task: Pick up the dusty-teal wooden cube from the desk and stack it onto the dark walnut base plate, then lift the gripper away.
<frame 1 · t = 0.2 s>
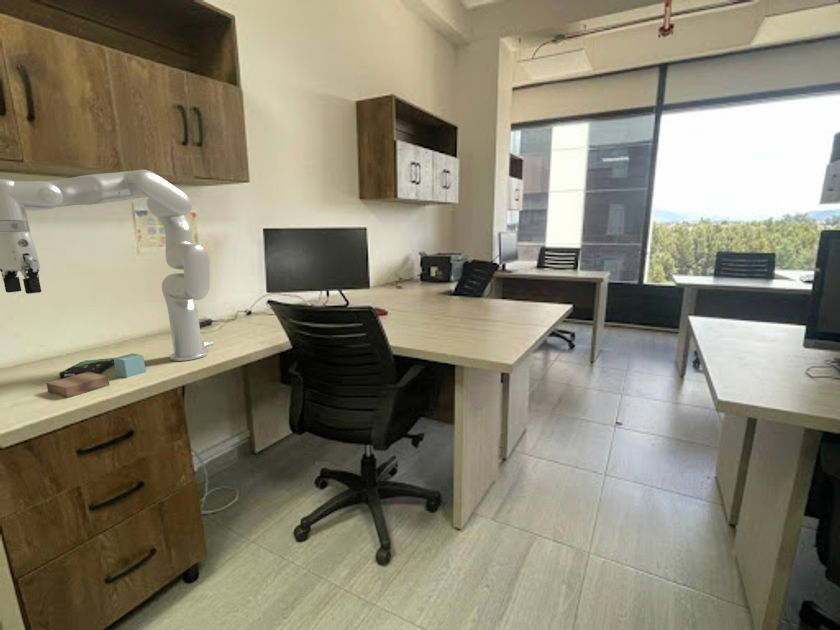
hand: (23, 292, 113), 31 cm above the table, tool pointing down, fingers open, 9 cm apart
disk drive: (90, 372, 143), on the table
walnut base: (79, 388, 126), on the table
teal cube: (131, 373, 139), on the table
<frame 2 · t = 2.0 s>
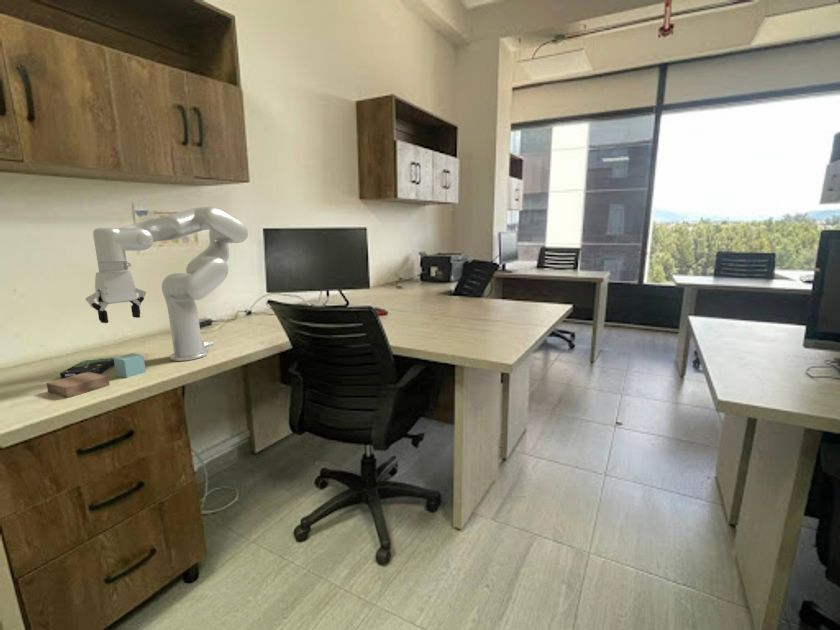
hand: (121, 319, 135), 19 cm above the table, tool pointing down, fingers open, 9 cm apart
nothing on the table moved.
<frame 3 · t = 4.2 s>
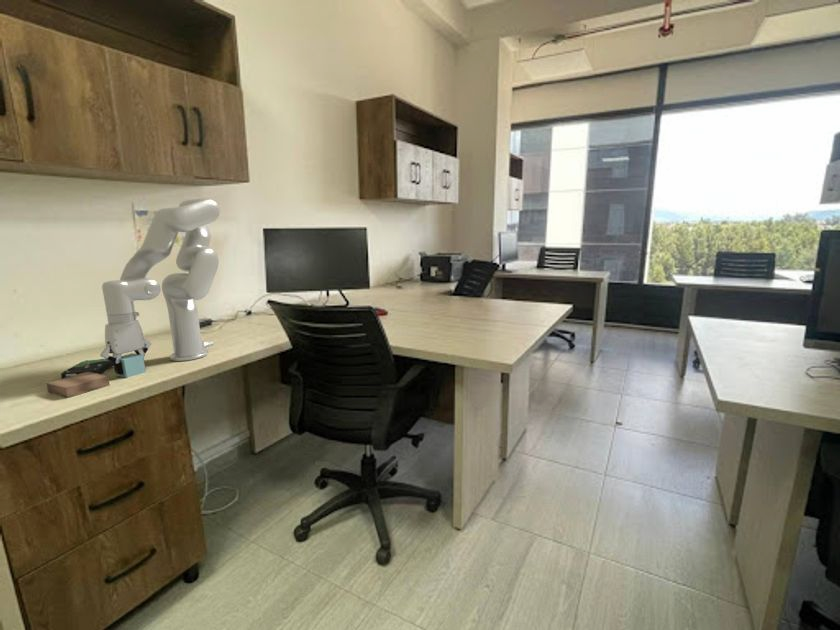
hand: (130, 370, 139), 1 cm above the table, tool pointing down, fingers closed on teal cube, 6 cm apart
teal cube: (131, 373, 139), on the table, touching gripper
everything else where it was.
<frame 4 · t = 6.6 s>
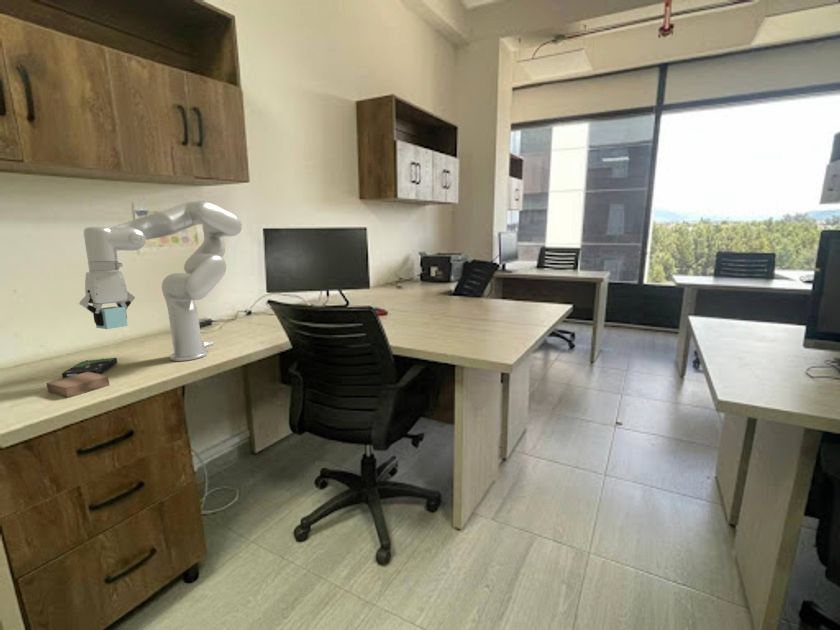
hand: (111, 323, 133), 18 cm above the table, tool pointing down, fingers closed on teal cube, 6 cm apart
teal cube: (112, 326, 133), point 17 cm above the table, touching gripper
everything else where it was.
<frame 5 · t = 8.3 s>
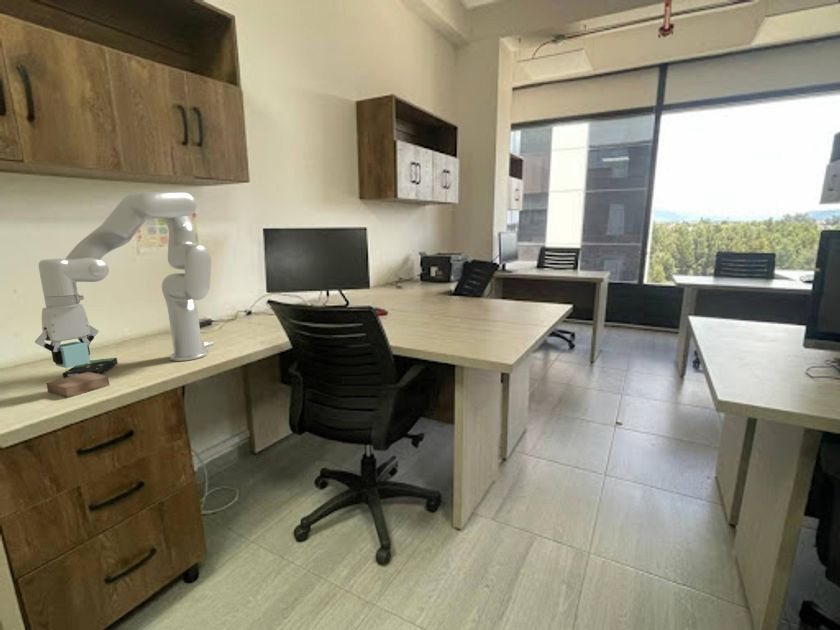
hand: (72, 360, 124), 9 cm above the table, tool pointing down, fingers closed on teal cube, 6 cm apart
teal cube: (73, 364, 124), point 8 cm above the table, touching gripper
everything else where it was.
when the fingers open (5 cm above the table, at t = 9.5 s): teal cube stays where it is, resting on walnut base.
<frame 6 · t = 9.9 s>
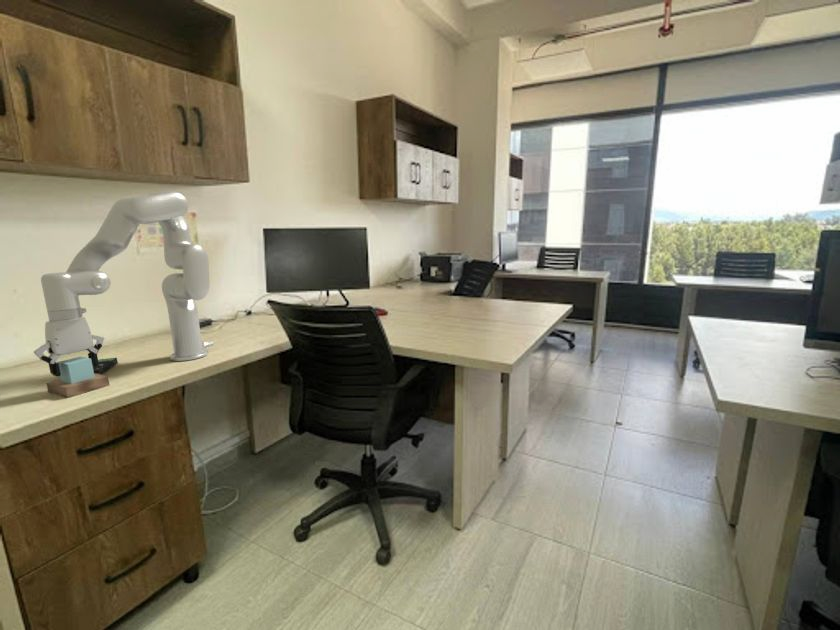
hand: (76, 370, 125), 6 cm above the table, tool pointing down, fingers open, 9 cm apart
teal cube: (78, 379, 126), point 3 cm above the table, touching walnut base
everything else where it was.
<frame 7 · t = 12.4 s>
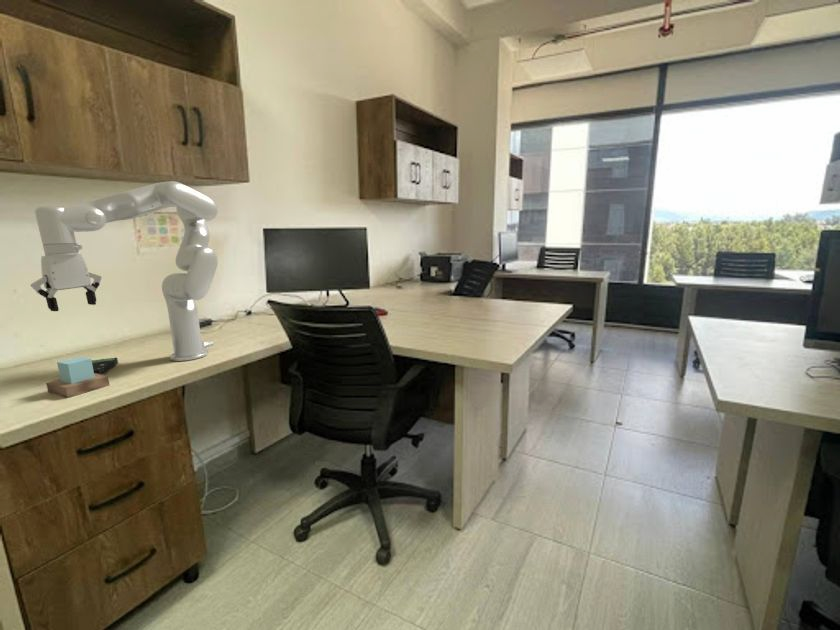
hand: (74, 307, 125), 25 cm above the table, tool pointing down, fingers open, 9 cm apart
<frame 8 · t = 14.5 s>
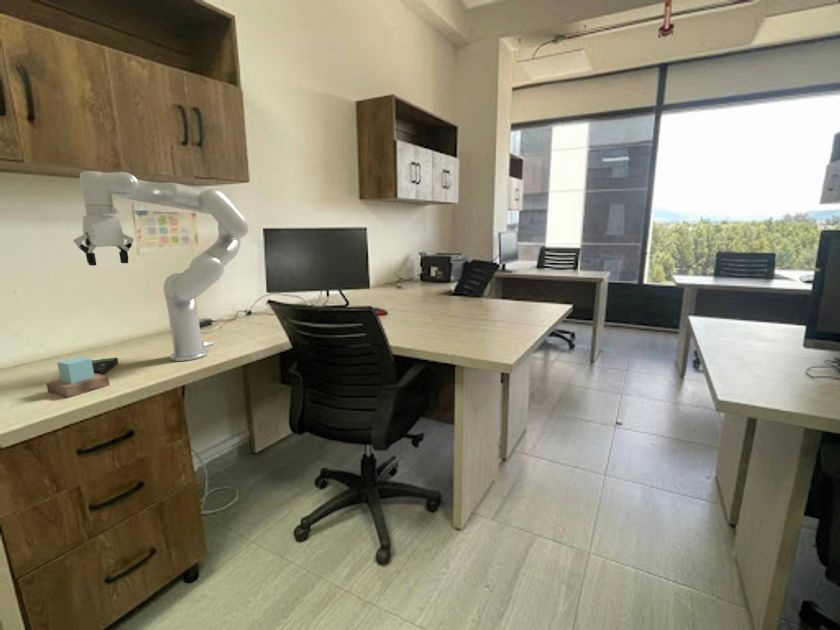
hand: (109, 264, 138), 36 cm above the table, tool pointing down, fingers open, 9 cm apart
at the end: teal cube 0.1 cm off-centre on the walnut base, point 3.0 cm above the walnut base's base; teal cube tilted 0°; the gripper is holding nothing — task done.
